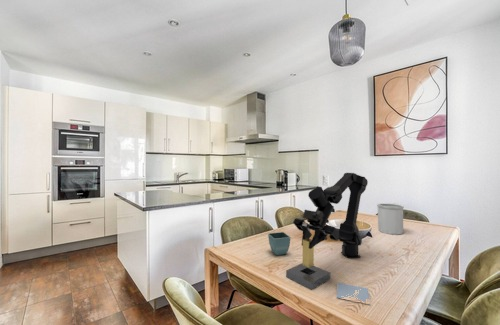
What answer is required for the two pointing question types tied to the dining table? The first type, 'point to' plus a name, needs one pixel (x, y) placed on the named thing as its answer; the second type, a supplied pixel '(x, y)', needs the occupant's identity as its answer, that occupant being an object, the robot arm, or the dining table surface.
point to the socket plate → (312, 279)
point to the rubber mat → (352, 291)
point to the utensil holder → (390, 218)
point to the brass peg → (308, 253)
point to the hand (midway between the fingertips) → (305, 246)
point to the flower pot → (279, 242)
